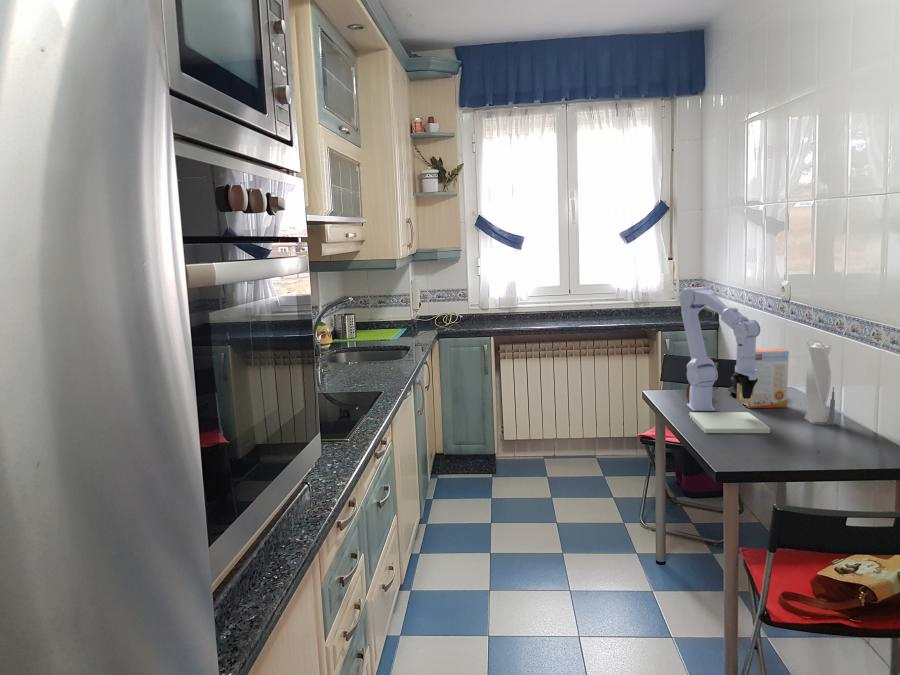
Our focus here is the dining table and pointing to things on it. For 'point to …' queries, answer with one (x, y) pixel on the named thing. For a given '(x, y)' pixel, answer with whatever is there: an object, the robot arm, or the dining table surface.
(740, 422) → the board
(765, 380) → the cracker box
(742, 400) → the pine block
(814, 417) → the skyscraper
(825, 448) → the dining table surface
